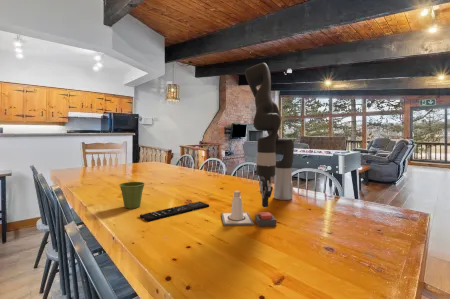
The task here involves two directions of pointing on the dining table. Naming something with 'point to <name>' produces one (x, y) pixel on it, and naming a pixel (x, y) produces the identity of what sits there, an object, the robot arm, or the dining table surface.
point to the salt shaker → (237, 206)
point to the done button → (265, 215)
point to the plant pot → (132, 194)
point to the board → (236, 220)
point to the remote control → (173, 211)
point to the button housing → (265, 221)
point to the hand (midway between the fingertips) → (265, 206)
